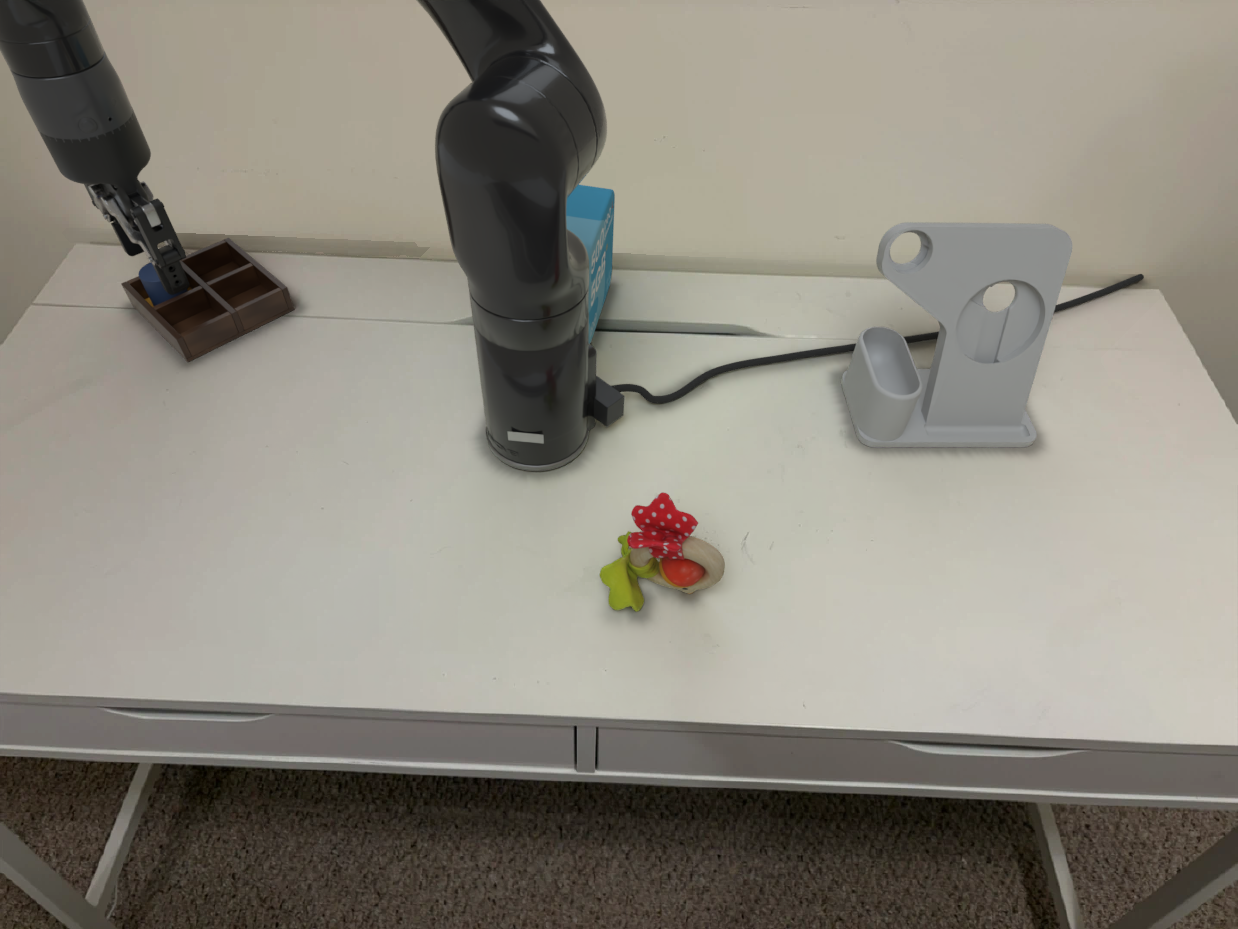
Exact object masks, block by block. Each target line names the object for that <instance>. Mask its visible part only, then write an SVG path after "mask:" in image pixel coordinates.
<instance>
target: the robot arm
mask: <svg viewBox="0 0 1238 929" xmlns="http://www.w3.org/2000/svg"><path fill="white" fill-rule="evenodd" d="M415 1H416V2H417V3H418V4H419V6H421V8H422V9H423V10H424V11H425V12H426V13H427V14H428V16H429V17H430V18H431V19H432V22H433V23H435V25H436V26H437V27H438V29H439V30H440V33H442V35H443V37H444V38H445V39H446V41H447V42H448V44H449V45H450V47H451V49H452V50H453V52H454V53H455V55H456V56H457V58H458V60H459V61H460V64H461V65H462V67H463V69H464V70H465V72H466V74H467V76H468V77H469V79H470V83H469V84H468V85H467V86H465V87H464V88H463V89H462V90H461V91H460V92H459V93H457V94H456V95H455V96H454V97H453V98H452V99H451V100H450V101H449V102H448V103H447V104H446V105H445V107H444V108H443V109H442V111H441V113H440V115H439V118H438V120H437V124H436V128H435V135H434V139H435V140H434V157H435V167H436V174H437V180H438V185H439V190H440V195H441V200H442V204H443V210H444V215H445V221H446V225H447V232H448V236H449V241H450V243H451V249H452V252H453V255H454V257H455V259H456V262H457V263H458V265H459V267H460V268H461V270H462V272H463V274H465V276H466V281H467V286H468V294H469V301H470V310H471V317H472V324H473V332H474V341H475V348H476V356H477V357H476V358H477V364H478V373H479V379H480V381H479V382H480V388H481V396H482V404H483V413H484V420H485V437H486V438H485V439H486V442H487V446H488V447H489V450H490V451H491V453H493V455H494V457H496V458H497V459H498V460H499V461H501V462H502V463H504V464H506V465H507V466H510V467H512V468H513V469H518V470H520V471H526V472H527V471H528V472H544V471H551V470H555V469H557V468H560V467H561V468H562V467H563V466H565V465H567V464H569V463H571V462H572V461H573V460H575V459H576V458H578V456H579V455H580V454H581V453H582V452H583V450H584V449H585V447H586V445H587V442H588V440H589V432H590V431H591V430H592V429H593V428H595V427H596V421H598V422H599V423H600V424H602V425H603V426H604V427H606V428H608V427H610V426H611V425H612V424H613V423H615V422H617V421H618V420H619V419H621V418H623V416H624V412H625V398H626V396H625V395H624V394H623V393H635V394H639V395H640V396H641V397H642V398H643V399H644V400H646V402H649V403H651V404H655V405H660V404H661V405H662V404H668V403H671V402H674V401H677V400H679V399H680V398H682V397H684V396H686V395H687V394H689V393H690V392H692V391H693V390H694V389H695V388H697V387H698V386H700V385H701V384H703V383H704V382H706V381H708V380H710V379H711V378H713V377H716V376H718V375H721V374H725V373H729V372H733V371H737V370H741V369H746V368H752V367H757V366H765V365H772V364H778V363H786V362H791V361H796V360H803V359H810V358H816V357H823V356H829V355H837V354H844V353H850V352H854V349H855V346H856V343H849V344H842V345H835V346H827V347H821V348H815V349H808V350H800V351H795V352H789V353H782V354H777V355H770V356H763V357H756V358H749V359H743V360H740V361H739V360H738V361H735V362H731V363H727V364H723V365H720V366H716V367H713V368H711V369H709V370H707V371H704V372H702V374H699V375H698V376H697V377H695V378H693V379H692V380H690V382H687V384H686V385H684V386H682V387H681V388H680V389H678V390H676V391H674V392H672V393H669V394H665V395H653V394H652V393H650V391H649V390H648V389H646V388H645V387H644V386H642V385H639V384H636V383H635V384H634V383H621V384H613V385H610V384H609V383H607V382H606V381H605V380H603V379H602V378H600V377H599V376H598V375H597V368H598V367H597V366H598V364H597V363H598V360H597V358H598V352H597V349H596V348H595V347H594V346H593V345H592V344H591V343H590V344H589V343H588V342H589V257H588V253H587V250H586V247H585V245H584V244H583V242H582V241H581V240H580V239H579V237H577V236H576V235H575V234H574V233H573V232H571V231H570V230H568V229H567V221H566V206H567V198H568V197H569V196H570V194H571V193H572V192H573V191H574V190H575V188H576V187H577V186H578V185H580V184H581V182H582V181H583V180H584V179H585V178H586V177H587V175H588V174H589V173H590V171H591V170H592V169H593V168H594V166H595V165H596V163H597V162H598V160H599V159H600V157H601V155H602V153H603V150H604V148H605V145H606V142H607V136H608V120H607V119H608V118H607V112H606V108H605V105H604V102H603V99H602V96H601V93H600V91H599V89H598V86H597V85H596V83H595V80H594V79H593V77H592V75H591V74H590V72H589V70H588V69H587V66H586V65H585V64H584V62H583V60H582V59H581V57H580V56H579V54H578V53H577V51H576V50H575V48H574V47H573V45H572V44H571V42H570V41H569V40H568V38H567V36H566V35H565V33H564V32H563V31H562V30H561V28H560V27H559V25H558V23H557V22H556V21H555V19H554V18H553V17H552V15H551V13H550V11H549V10H548V9H547V8H546V6H545V5H544V4H543V2H542V0H415ZM102 44H103V43H102V42H101V39H100V37H99V35H98V32H97V30H96V27H95V25H94V23H93V21H92V18H91V16H90V13H89V11H88V9H87V7H86V4H85V2H84V0H0V53H1V55H2V57H3V59H4V61H5V62H6V64H7V67H8V68H9V70H10V73H11V75H12V78H13V80H14V83H15V86H16V88H17V90H18V93H19V96H20V99H21V100H22V103H23V105H24V106H25V108H26V110H27V111H28V114H29V116H30V117H31V120H32V121H33V124H34V125H35V127H36V129H37V131H38V133H39V135H40V137H41V139H42V141H43V143H44V145H45V146H46V148H47V150H48V153H49V154H50V156H51V158H52V160H53V161H54V164H55V165H56V167H57V169H58V171H59V173H60V174H61V175H62V176H63V177H64V178H66V179H67V180H69V181H71V182H74V183H76V184H81V185H84V187H85V189H86V192H87V194H88V195H89V198H90V200H91V203H92V205H93V206H94V207H95V208H96V209H97V210H99V212H100V213H101V214H102V217H103V219H104V220H106V221H107V222H108V223H110V225H111V227H112V229H113V231H114V232H115V235H116V237H117V239H118V241H119V244H120V245H121V247H122V249H123V251H124V252H125V254H126V255H128V256H129V257H135V256H138V255H140V254H142V253H145V254H146V257H147V260H148V261H149V263H152V265H153V267H154V269H155V271H156V273H157V275H158V277H159V279H160V281H161V283H162V286H163V288H164V290H165V291H166V292H167V293H168V294H170V295H174V294H176V293H179V292H181V291H183V290H185V289H187V288H188V287H189V285H190V284H189V281H188V279H187V277H186V274H185V272H184V270H183V268H182V265H181V263H180V260H182V259H185V258H186V256H187V254H186V253H187V252H186V250H185V249H184V248H183V246H182V243H181V241H180V239H179V238H178V235H177V232H176V231H175V228H174V225H173V224H172V222H171V220H170V218H169V214H168V213H167V211H166V209H165V205H164V203H163V202H162V201H161V200H160V199H159V198H154V197H155V196H154V194H153V192H152V190H151V189H150V187H149V185H148V184H147V183H146V181H140V180H139V179H138V178H139V176H140V173H141V172H142V170H143V169H144V168H146V166H147V165H148V164H149V162H150V161H151V156H152V153H151V149H150V146H149V143H148V141H147V139H146V137H145V135H144V132H143V129H142V127H141V125H140V122H139V120H138V118H137V115H136V113H135V110H134V109H133V106H132V103H131V101H130V99H129V96H128V95H127V92H126V90H125V87H124V85H123V83H122V80H121V78H120V76H119V74H118V72H117V70H116V69H115V67H114V65H113V64H112V62H111V60H110V59H109V57H108V54H107V53H106V51H105V49H104V46H103V45H102ZM162 243H164V246H161V247H159V248H158V246H159V244H162ZM1144 279H1145V276H1144V274H1142V273H1138V274H1136V275H1133V276H1130V277H1129V278H1126V279H1124V280H1122V281H1119V282H1117V283H1114V284H1112V285H1109V286H1107V287H1104V288H1102V289H1099V290H1096V291H1093V292H1090V293H1088V294H1085V295H1082V296H1079V297H1077V298H1074V299H1070V300H1067V301H1065V302H1061V303H1058V304H1056V307H1055V310H1054V314H1055V313H1058V312H1061V311H1065V310H1068V309H1071V308H1074V307H1075V306H1079V305H1082V304H1085V303H1087V302H1090V301H1093V300H1095V299H1098V298H1101V297H1103V296H1106V295H1109V294H1112V293H1113V292H1116V291H1119V290H1121V289H1124V288H1126V287H1129V286H1131V285H1134V284H1135V283H1138V282H1140V281H1143V280H1144ZM938 335H939V330H938V331H931V332H927V333H919V334H915V335H908V336H907V335H906V336H903V337H904V339H905V340H906V342H907V345H908V344H913V343H921V342H926V341H927V342H928V341H932V340H937V339H938Z"/></svg>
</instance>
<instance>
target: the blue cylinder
mask: <svg viewBox="0 0 1238 929" xmlns="http://www.w3.org/2000/svg"><path fill="white" fill-rule="evenodd" d="M138 276H139V278H140V280H141V282H142V284H143V286H144V288H145V290H146V292H147V294H148V296H149V298H150V300H151V302H152V304H153V306H156V305H158V304H160V303H162V302H165V301H167V300H169V299H171V298H174V297H176V296H178V295H180V294H182V293H185V292H187V291H188V290H187V289H185V290H183V291H181V292H179V293H176V294H174V295H170V294H168V293H167V292H166V291H165V290H164V288H163V286H162V283H161V281H160V279H159V277H158V275H157V273H156V271H155V269H154V267H153V265H152V263H150V262H148V263H146V264H145V265H143V266H142V267H141V268H140V269H139V271H138Z"/></svg>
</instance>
